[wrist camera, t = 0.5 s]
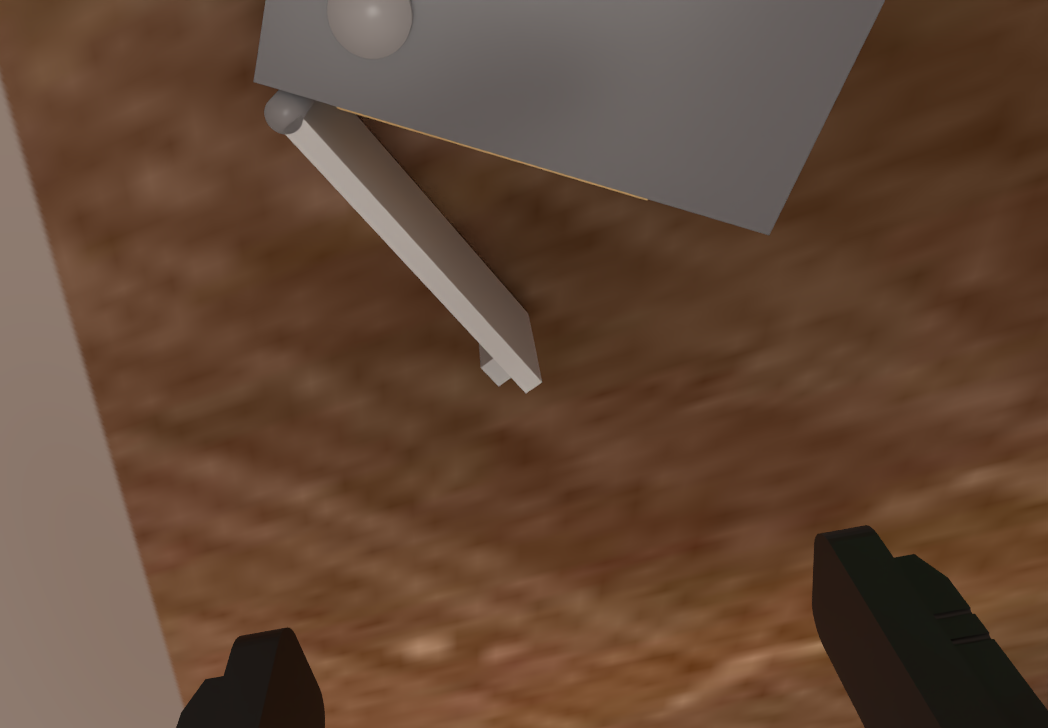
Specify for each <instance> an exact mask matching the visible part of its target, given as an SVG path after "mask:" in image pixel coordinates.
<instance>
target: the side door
mask: <svg viewBox="0 0 1048 728" xmlns="http://www.w3.org/2000/svg"><path fill="white" fill-rule="evenodd" d="M264 115H265V119H266V121H267V123H268V125H269V126H270V127H271V128H272V129H273V130H274V131H276V132H278V133H281V134H285V135H286V136H287V137H288V138H289V139H290V140H291V141H292V142H293V143H294V144H295V145H296V146H297V148H298V149H299V150H300V151H301V152H302V153H303V154H304V155H305V156H306V157H307V158H308V159H309V160H310V162H311V163H312V164H313V165H314V166H315V167H316V168H317V169H318V170H319V171H320V172H321V173H322V174H323V176H324V177H325V178H326V179H327V180H328V181H329V182H330V183H331V184H332V185H333V186H334V187H335V188H336V190H337V191H338V192H339V193H340V194H341V195H342V196H343V197H344V198H345V199H346V200H347V201H348V202H349V204H350V205H351V206H352V207H353V208H354V209H355V210H356V211H357V212H358V213H359V214H360V215H361V216H362V218H363V219H364V220H365V221H366V222H367V223H368V224H369V225H370V226H371V227H372V228H373V229H374V230H375V232H376V233H377V234H378V235H379V236H380V237H381V238H382V239H383V240H384V241H385V242H386V243H387V244H388V246H389V247H390V248H391V249H392V250H393V251H394V252H395V253H396V254H397V255H398V256H399V257H400V258H401V260H402V261H403V262H404V263H405V264H406V265H407V266H408V267H409V268H410V269H411V270H412V271H413V272H414V274H415V275H416V276H417V277H418V278H419V279H420V280H421V281H422V282H423V283H424V284H425V285H426V286H427V287H428V289H429V290H430V291H431V292H432V293H433V294H434V295H435V296H436V297H437V298H438V299H439V300H440V301H441V303H442V304H443V305H444V306H445V307H446V308H447V309H448V310H449V311H450V312H451V313H452V314H453V315H454V317H455V318H456V319H457V320H458V321H459V322H460V323H461V324H462V325H463V326H464V327H465V328H466V329H467V331H468V332H469V333H470V334H471V335H472V336H473V337H474V338H475V339H476V340H477V341H478V342H479V343H480V344H479V351H480V364H481V368H482V369H483V370H484V372H485V373H486V374H487V375H488V376H489V377H490V378H491V379H492V380H493V381H494V382H495V383H496V384H497V385H498V386H500V385H501V384H503V383H504V382H506V381H507V380H509V379H510V378H512V379H513V380H514V381H515V382H516V383H517V384H518V385H519V387H520V388H521V389H522V390H523V391H524V392H525V393H527V392H529V391H530V390H532V389H533V388H535V387H536V386H537V385H539V384H540V383H542V379H541V374H540V369H539V364H538V359H537V354H536V349H535V344H534V339H533V334H532V329H531V324H530V319H529V314H528V313H527V312H526V311H525V309H524V308H523V307H522V306H521V305H520V304H519V302H518V301H517V300H516V299H515V298H514V297H513V295H512V294H511V293H510V292H509V291H508V290H507V289H506V287H505V286H504V285H503V284H502V283H501V282H500V280H499V279H498V278H497V277H496V276H495V275H494V274H493V272H492V271H491V270H490V269H489V268H488V267H487V265H486V264H485V263H484V262H483V261H482V260H481V259H480V257H479V256H478V255H477V254H476V253H475V252H474V250H473V249H472V248H471V247H470V246H469V245H468V244H467V242H466V241H465V240H464V239H463V238H462V237H461V235H460V234H459V233H458V232H457V231H456V230H455V229H454V227H453V226H452V225H451V224H450V223H449V222H448V220H447V219H446V218H445V217H444V216H443V215H442V214H441V212H440V211H439V210H438V209H437V208H436V207H435V205H434V204H433V203H432V202H431V201H430V200H429V199H428V197H427V196H426V195H425V194H424V193H423V192H422V190H421V189H420V188H419V187H418V186H417V185H416V183H415V182H414V181H413V180H412V179H411V178H410V177H409V175H408V174H407V173H406V172H405V171H404V170H403V168H402V167H401V166H400V165H399V164H398V163H397V162H396V160H395V159H394V158H393V157H392V156H391V155H390V153H389V152H388V151H387V150H386V149H385V148H384V147H383V145H382V144H381V143H380V142H379V141H378V140H377V138H376V137H375V136H374V135H373V134H372V133H371V132H370V130H369V129H368V128H367V127H366V126H365V125H364V123H363V122H362V121H361V120H360V119H359V118H358V117H357V115H356V114H354V113H351V112H347V111H344V110H340V109H337V107H336V106H333V105H330V104H326V103H323V102H320V101H316V100H313V99H309V98H306V97H303V96H299V95H296V94H293V93H289V92H286V91H283V90H278V91H277V93H276V94H275V95H274V96H273V97H272V98H271V99H270V100H269V101H268V102H267V104H266V106H265V110H264Z"/></svg>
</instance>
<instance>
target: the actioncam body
mask: <svg viewBox="0 0 1048 728" xmlns="http://www.w3.org/2000/svg"><path fill="white" fill-rule="evenodd" d="M884 1H885V0H266V1H265V8H264V15H263V22H262V28H261V35H260V42H259V49H258V56H257V62H256V69H255V76H254V82H256V83H259V84H262V85H266V86H269V87H272V88H276V89H279V90H283V91H286V92H289V93H293V94H296V95H299V96H303V97H306V98H309V99H313V100H316V101H320V102H323V103H326V104H330V105H333V106H336V107H337V109H340V110H344V111H347V112H351V113H354V114H357V115H361V116H364V117H367V118H371V119H374V120H377V121H381V122H384V123H388V124H391V125H394V126H398V127H401V128H404V129H408V130H411V131H415V132H418V133H421V134H425V135H428V136H431V137H435V138H438V139H441V140H445V141H448V142H452V143H455V144H458V145H462V146H465V147H468V148H472V149H475V150H478V151H482V152H485V153H489V154H492V155H495V156H499V157H502V158H505V159H509V160H512V161H516V162H519V163H522V164H526V165H529V166H532V167H536V168H539V169H542V170H546V171H549V172H553V173H556V174H559V175H563V176H566V177H569V178H573V179H576V180H579V181H583V182H586V183H590V184H593V185H596V186H600V187H603V188H606V189H610V190H613V191H617V192H620V193H623V194H627V195H630V196H633V197H637V198H640V199H643V200H647V199H649V200H652V201H656V202H659V203H662V204H666V205H669V206H672V207H676V208H679V209H682V210H686V211H689V212H693V213H696V214H699V215H703V216H706V217H709V218H713V219H716V220H719V221H723V222H726V223H730V224H733V225H736V226H740V227H743V228H746V229H750V230H753V231H756V232H760V233H763V234H766V235H770V233H771V231H772V228H773V226H774V224H775V222H776V220H777V218H778V216H779V214H780V212H781V210H782V208H783V206H784V204H785V202H786V200H787V198H788V196H789V194H790V192H791V190H792V188H793V186H794V184H795V182H796V180H797V178H798V176H799V174H800V172H801V170H802V168H803V166H804V164H805V162H806V160H807V157H808V155H809V153H810V151H811V149H812V147H813V145H814V143H815V141H816V139H817V137H818V135H819V133H820V131H821V129H822V127H823V125H824V123H825V121H826V119H827V117H828V115H829V113H830V111H831V109H832V107H833V105H834V103H835V101H836V99H837V97H838V95H839V93H840V91H841V89H842V86H843V84H844V82H845V80H846V78H847V76H848V74H849V72H850V70H851V68H852V66H853V64H854V62H855V60H856V58H857V56H858V54H859V52H860V50H861V48H862V46H863V44H864V42H865V40H866V38H867V36H868V34H869V32H870V30H871V28H872V26H873V24H874V22H875V20H876V18H877V15H878V13H879V11H880V9H881V7H882V5H883V3H884Z"/></svg>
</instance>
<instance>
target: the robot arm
mask: <svg viewBox="0 0 1048 728" xmlns="http://www.w3.org/2000/svg"><path fill="white" fill-rule="evenodd" d="M812 609H813V616H814V620H815V624H816V628H817V631H818V634H819V637H820V640H821V642H822V644H823V646H824V649H825V650H826V652H827V654H828V656H829V658H830V660H831V662H832V664H833V666H834V668H835V670H836V672H837V674H838V676H839V678H840V680H841V682H842V684H843V686H844V688H845V690H846V692H847V693H848V695H849V697H850V699H851V701H852V703H853V705H854V707H855V709H856V711H857V713H858V715H859V717H860V719H861V721H862V723H863V725H864V727H865V728H1048V710H1047V709H1046V708H1045V706H1044V705H1043V704H1042V702H1041V701H1040V700H1039V698H1038V697H1037V696H1036V694H1035V693H1034V692H1033V690H1032V689H1031V688H1030V686H1029V685H1028V684H1027V682H1026V681H1025V680H1024V678H1023V677H1022V676H1021V674H1020V673H1019V672H1018V670H1017V669H1016V668H1015V666H1014V665H1013V664H1012V662H1011V661H1010V660H1009V658H1008V657H1007V656H1006V654H1005V653H1004V652H1003V650H1002V649H1001V648H1000V646H999V645H998V644H997V642H996V641H995V640H994V639H991V638H990V636H989V632H988V630H987V629H986V628H985V626H984V625H983V624H982V623H981V621H980V620H979V619H978V617H977V616H976V615H975V614H972V612H971V610H970V607H969V605H968V604H967V603H966V601H965V600H964V599H963V597H962V596H961V595H960V593H959V592H958V591H957V589H956V588H955V587H954V585H953V584H952V583H951V581H950V580H949V579H948V577H946V576H945V575H943V574H942V573H940V572H939V571H938V570H936V569H935V568H933V567H932V566H930V565H929V564H928V563H926V562H925V561H923V560H922V559H920V558H919V557H918V556H916V555H915V554H912V555H907V556H901V557H896V558H894V557H893V556H892V554H891V553H890V552H889V550H888V549H887V547H886V546H885V544H884V543H883V541H882V540H881V539H880V537H879V536H878V534H877V533H876V532H875V530H873V529H872V528H871V527H870V526H867V525H865V526H860V527H854V528H849V529H843V530H837V531H832V532H826V533H821V534H817V535H816V537H815V542H814V565H813V591H812ZM176 728H325V711H324V703H323V698H322V694H321V691H320V688H319V686H318V684H317V681H316V679H315V677H314V675H313V673H312V670H311V668H310V666H309V664H308V662H307V659H306V657H305V655H304V653H303V651H302V648H301V646H300V644H299V642H298V640H297V637H296V635H295V633H294V632H293V630H292V629H290V628H282V629H277V630H271V631H265V632H260V633H254V634H249V635H243V636H239V637H238V638H237V639H236V640H235V642H234V644H233V647H232V649H231V653H230V656H229V660H228V663H227V666H226V670H225V673H224V676H221V677H216V678H210V679H205V681H204V682H203V683H202V685H201V686H200V687H199V689H198V690H197V692H196V693H195V694H194V696H193V697H192V699H191V700H190V701H189V703H188V704H187V705H186V707H185V708H184V710H183V711H182V712H181V715H180V718H179V721H178V724H177V727H176Z"/></svg>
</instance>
